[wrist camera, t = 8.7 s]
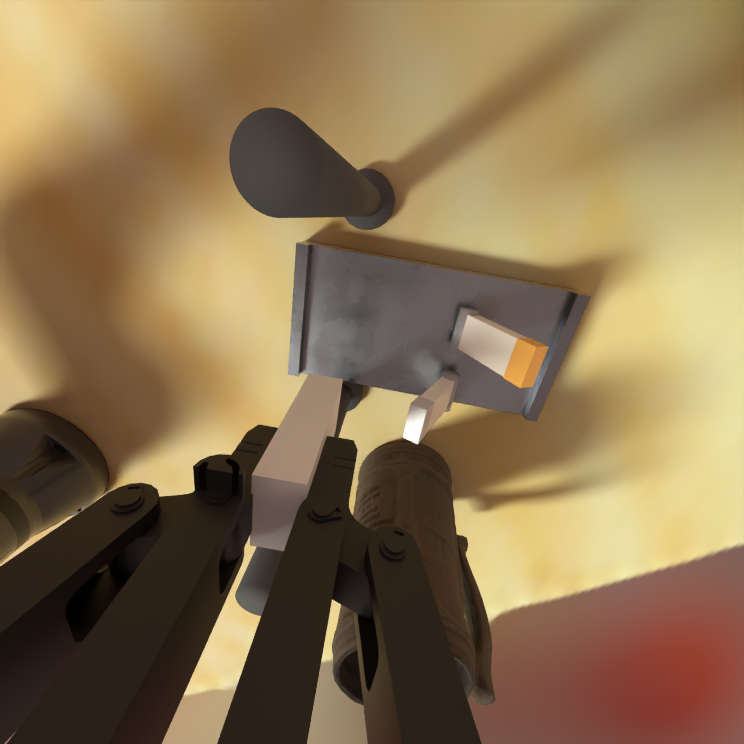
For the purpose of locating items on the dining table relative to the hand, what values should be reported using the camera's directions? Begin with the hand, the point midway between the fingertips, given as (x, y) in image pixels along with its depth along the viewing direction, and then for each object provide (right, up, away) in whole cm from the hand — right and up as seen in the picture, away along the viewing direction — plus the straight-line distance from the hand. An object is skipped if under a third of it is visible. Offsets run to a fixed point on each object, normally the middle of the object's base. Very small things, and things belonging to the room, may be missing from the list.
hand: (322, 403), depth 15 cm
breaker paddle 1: (+9, 0, +16) cm, 19 cm away
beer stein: (+8, -12, +25) cm, 29 cm away
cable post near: (+2, +16, +13) cm, 21 cm away
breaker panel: (+7, +5, +17) cm, 19 cm away
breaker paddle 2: (+10, +5, +14) cm, 18 cm away
